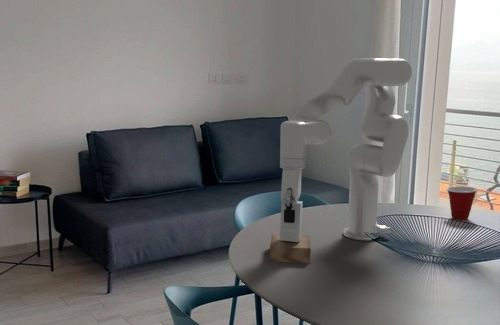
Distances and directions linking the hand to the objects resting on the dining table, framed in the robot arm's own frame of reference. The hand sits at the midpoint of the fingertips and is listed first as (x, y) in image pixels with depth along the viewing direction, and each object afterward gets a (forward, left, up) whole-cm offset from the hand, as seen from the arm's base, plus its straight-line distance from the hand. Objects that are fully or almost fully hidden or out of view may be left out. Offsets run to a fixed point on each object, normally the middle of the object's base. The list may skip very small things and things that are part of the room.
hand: (291, 217), depth 164 cm
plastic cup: (-57, -55, -12) cm, 80 cm away
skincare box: (0, 0, -7) cm, 7 cm away
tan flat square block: (0, 0, -12) cm, 12 cm away
